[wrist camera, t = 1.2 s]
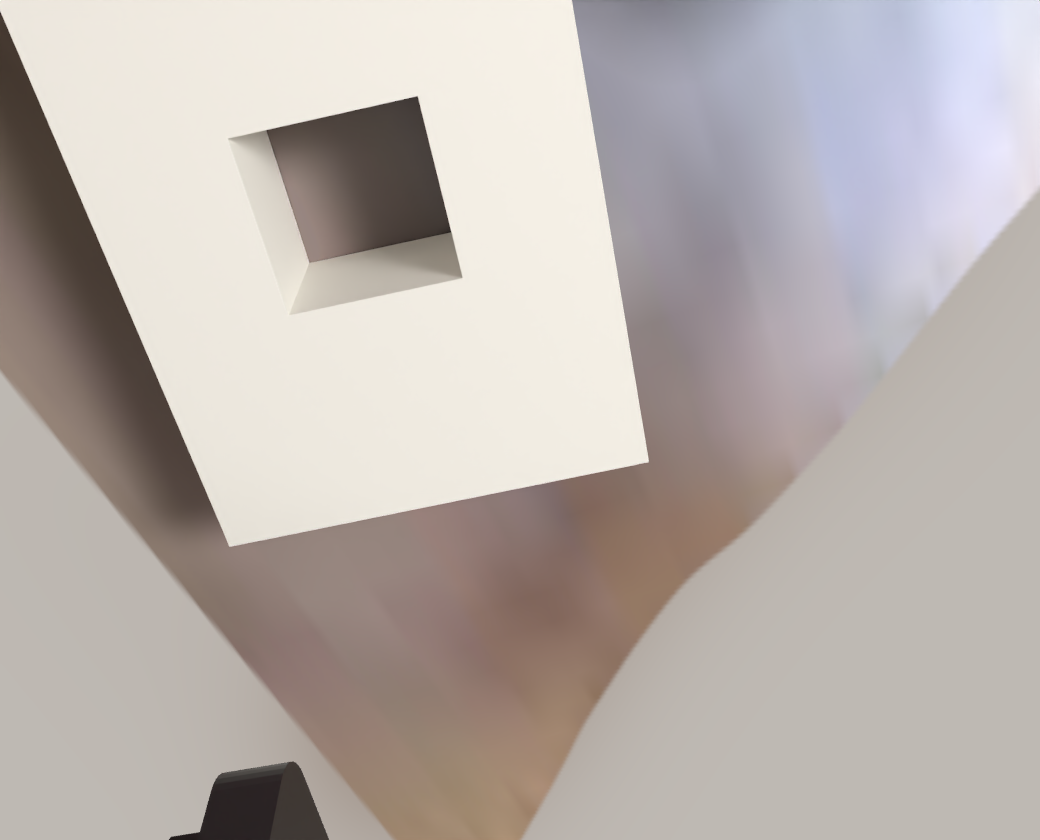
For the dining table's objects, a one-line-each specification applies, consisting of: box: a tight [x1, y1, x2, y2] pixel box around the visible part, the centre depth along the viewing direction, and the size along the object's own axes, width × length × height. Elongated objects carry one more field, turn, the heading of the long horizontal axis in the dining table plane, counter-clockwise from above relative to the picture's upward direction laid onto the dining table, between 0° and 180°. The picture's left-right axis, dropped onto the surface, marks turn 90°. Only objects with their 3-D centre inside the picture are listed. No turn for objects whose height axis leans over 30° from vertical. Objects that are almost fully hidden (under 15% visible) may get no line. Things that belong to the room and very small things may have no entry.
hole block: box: [0, 0, 649, 547], centre depth 30 cm, size 20×14×4 cm
